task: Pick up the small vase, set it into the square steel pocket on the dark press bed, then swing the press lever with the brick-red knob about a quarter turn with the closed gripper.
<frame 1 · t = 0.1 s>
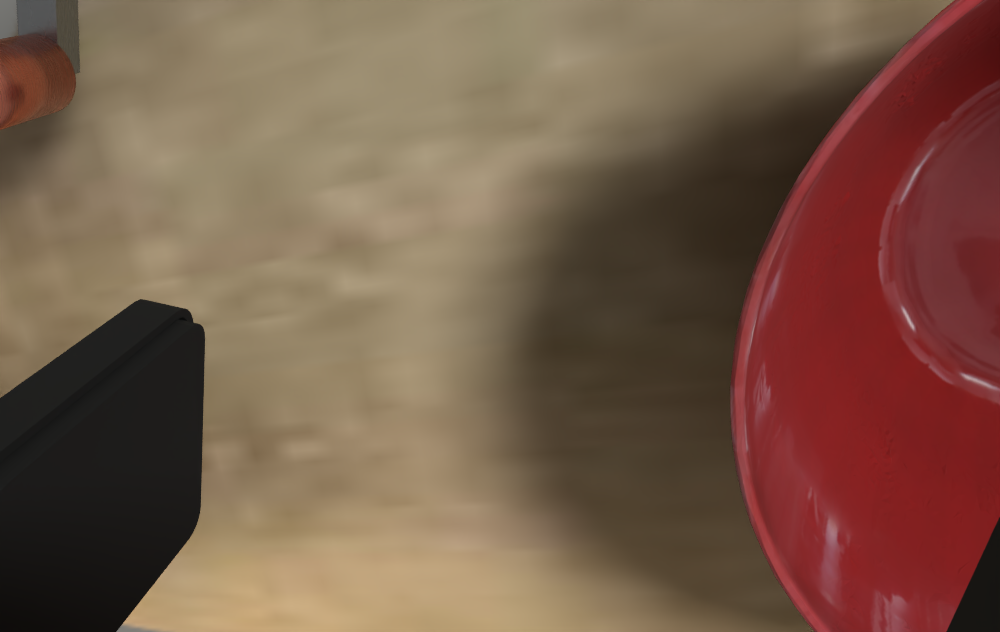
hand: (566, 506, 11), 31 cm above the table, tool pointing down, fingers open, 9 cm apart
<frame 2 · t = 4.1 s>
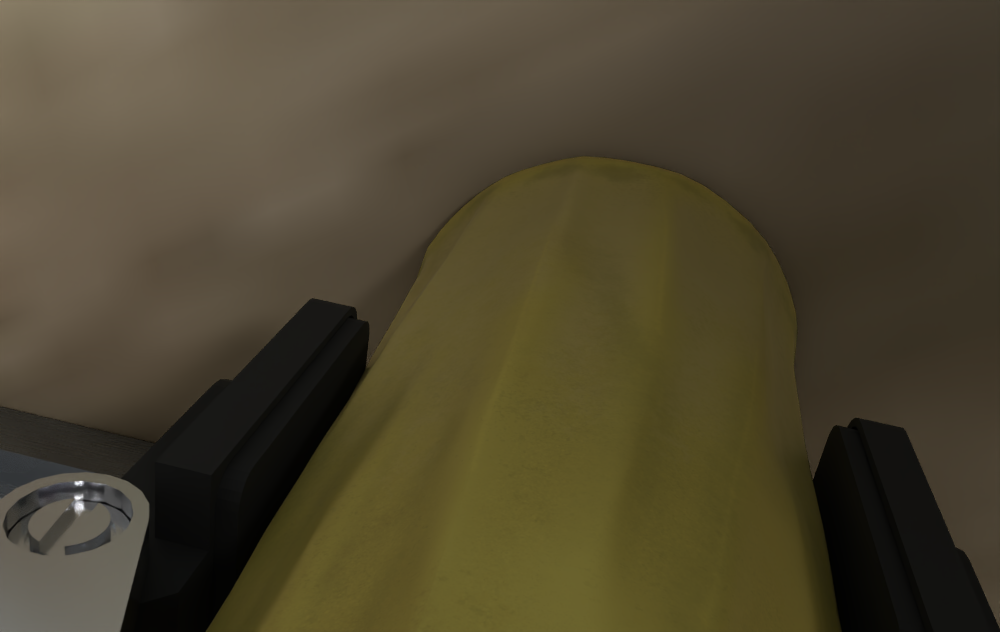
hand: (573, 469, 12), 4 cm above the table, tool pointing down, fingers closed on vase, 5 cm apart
vase: (599, 335, 15), on the table, touching gripper
when the fingers open (6 cm above the table, at t = 8.9 s): vase stays where it is, resting on bed.
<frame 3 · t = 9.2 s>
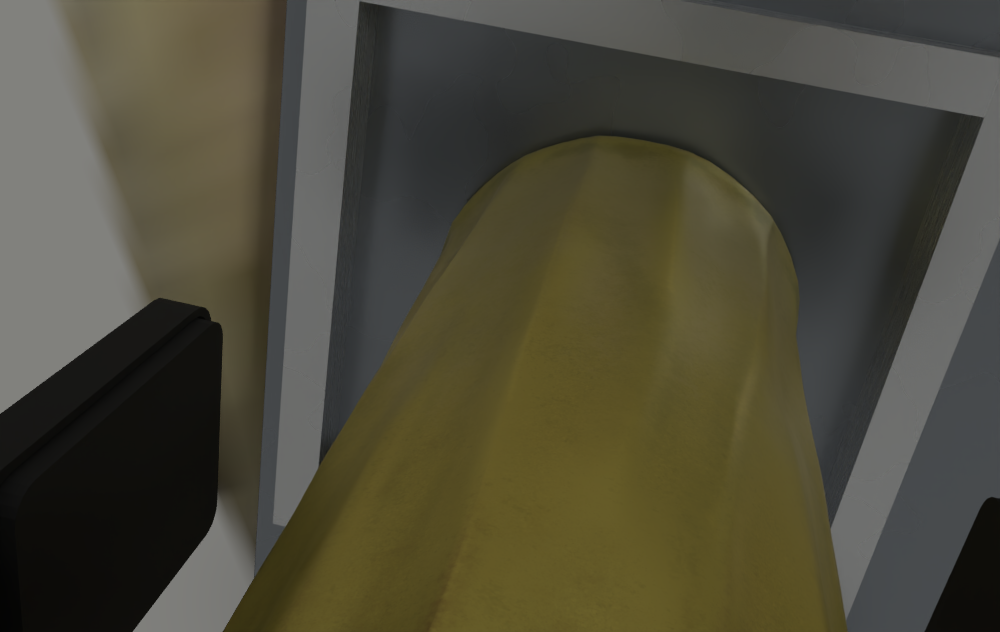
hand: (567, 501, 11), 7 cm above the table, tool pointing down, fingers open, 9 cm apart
bed: (628, 437, 18), on the table
vase: (613, 305, 16), point 1 cm above the table, touching bed
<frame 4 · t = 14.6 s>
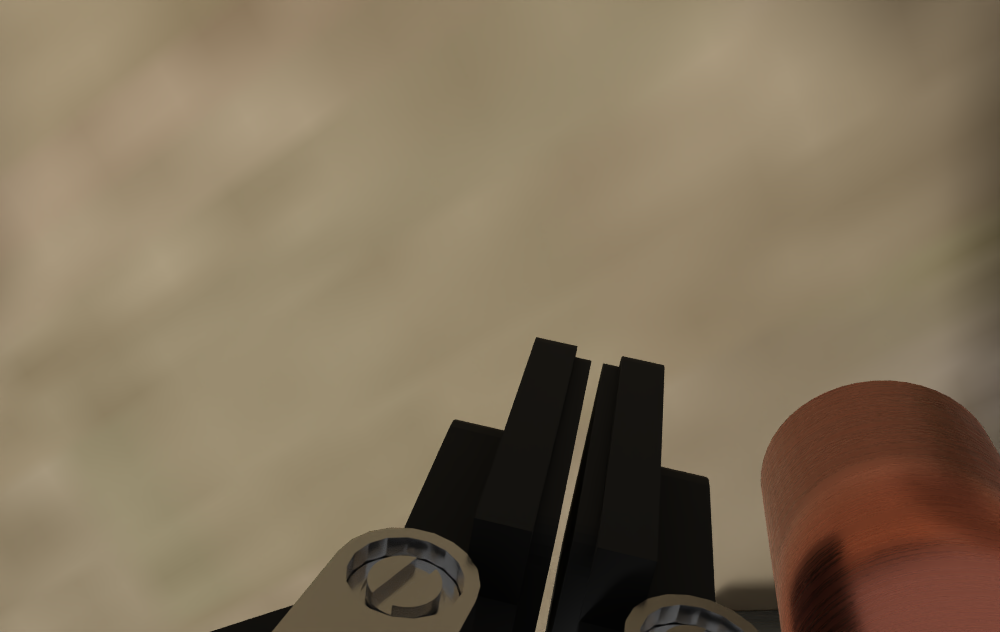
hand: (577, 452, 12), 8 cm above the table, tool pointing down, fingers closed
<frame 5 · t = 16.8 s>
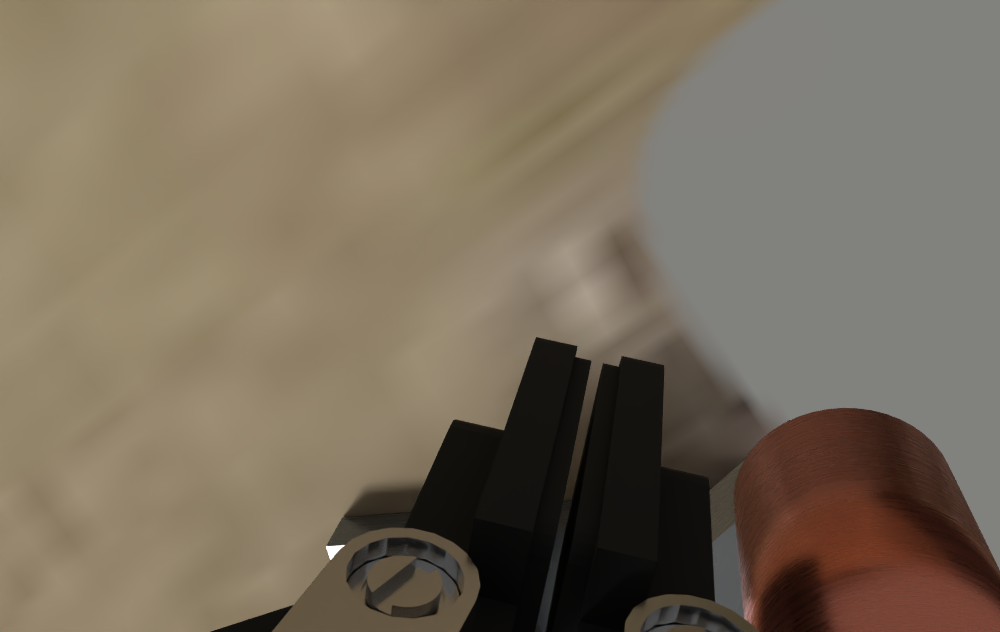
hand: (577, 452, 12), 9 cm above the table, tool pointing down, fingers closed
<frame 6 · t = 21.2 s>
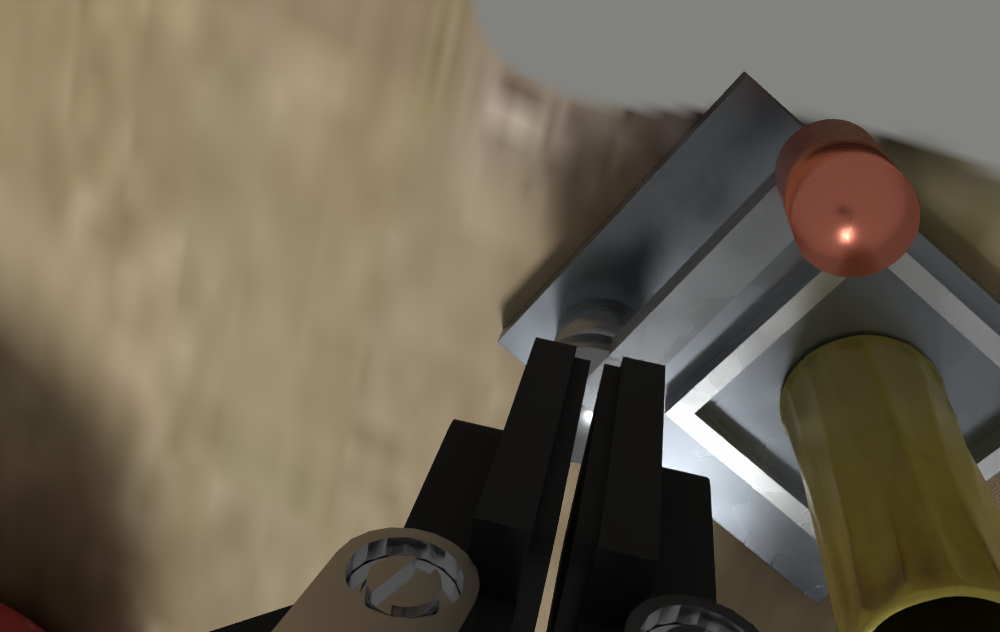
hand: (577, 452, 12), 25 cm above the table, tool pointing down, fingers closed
lever: (691, 328, 29), point 9 cm above the table, hinge at 88.8°
bed: (782, 355, 38), on the table
vase: (859, 401, 37), point 1 cm above the table, touching bed
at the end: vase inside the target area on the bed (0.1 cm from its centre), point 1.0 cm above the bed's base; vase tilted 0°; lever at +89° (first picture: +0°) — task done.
